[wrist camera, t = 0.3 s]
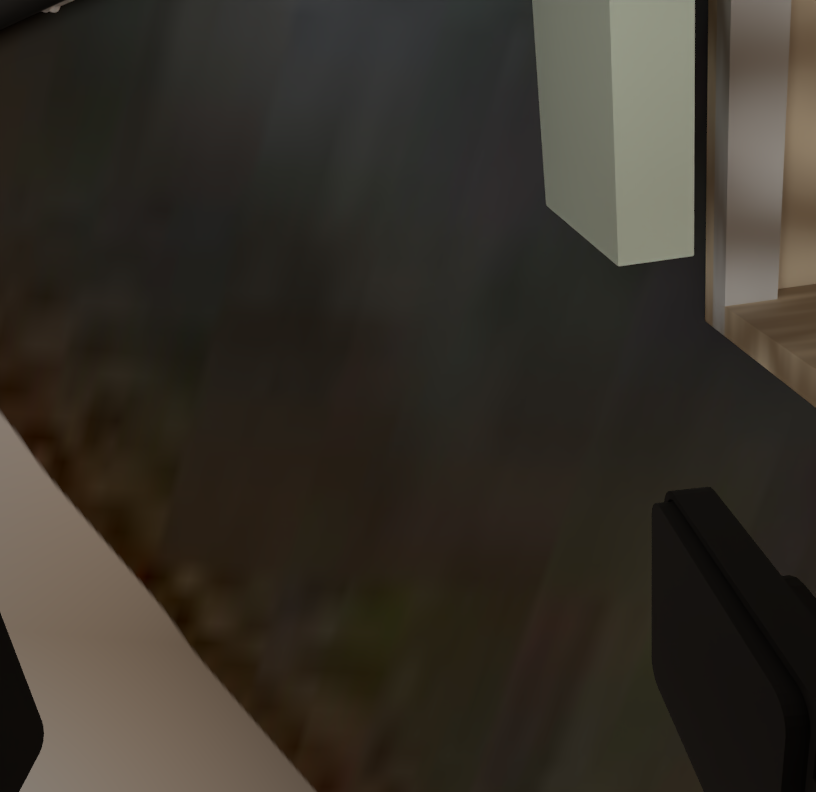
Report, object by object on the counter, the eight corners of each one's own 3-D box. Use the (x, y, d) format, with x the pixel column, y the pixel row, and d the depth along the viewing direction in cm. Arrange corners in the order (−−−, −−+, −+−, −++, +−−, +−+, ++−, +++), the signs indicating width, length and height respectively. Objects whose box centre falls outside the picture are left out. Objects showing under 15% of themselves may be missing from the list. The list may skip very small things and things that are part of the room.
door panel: (526, -79, 33) (603, -164, 21) (599, -90, 33) (717, -182, 21) (546, 205, 38) (618, 266, 26) (609, 196, 38) (712, 253, 26)
